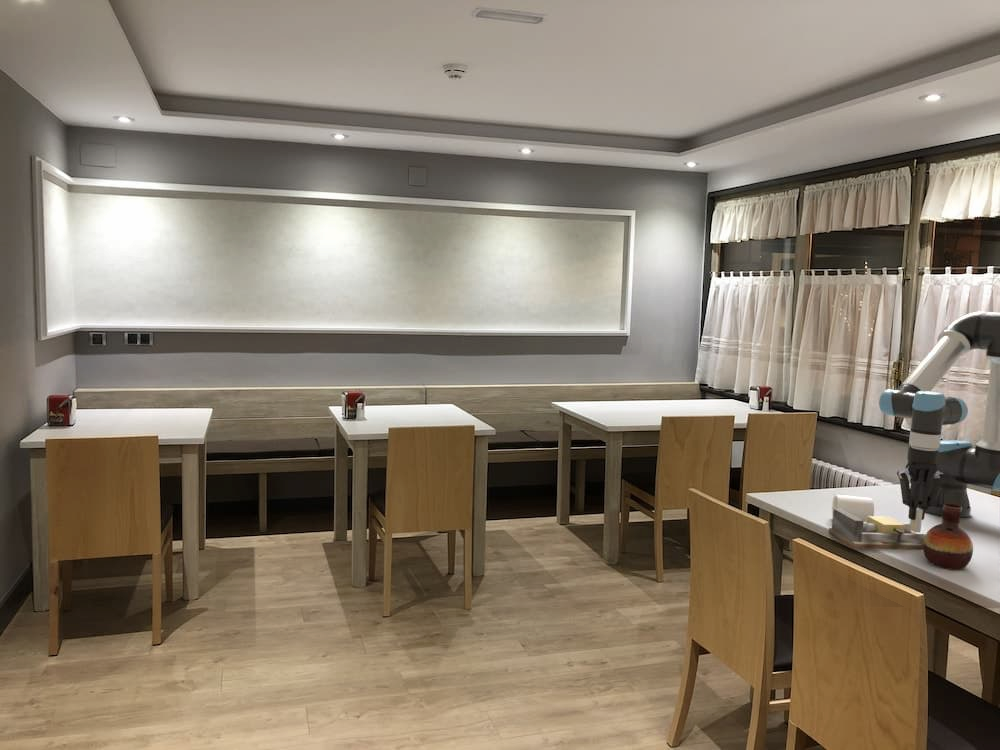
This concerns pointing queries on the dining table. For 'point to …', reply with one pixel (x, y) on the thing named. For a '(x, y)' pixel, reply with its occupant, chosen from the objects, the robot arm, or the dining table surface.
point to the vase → (948, 541)
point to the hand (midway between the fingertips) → (914, 530)
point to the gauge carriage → (883, 526)
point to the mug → (854, 506)
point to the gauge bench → (871, 534)
